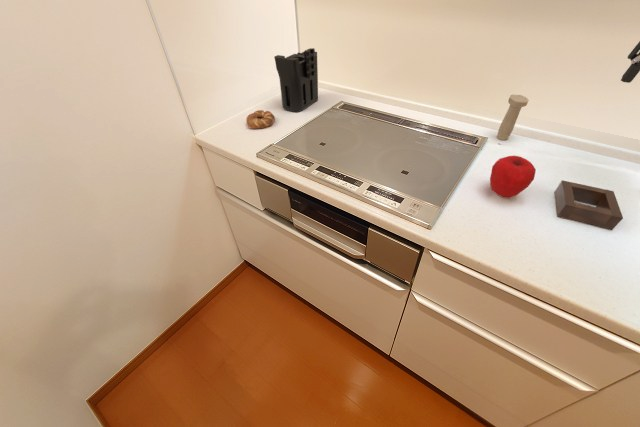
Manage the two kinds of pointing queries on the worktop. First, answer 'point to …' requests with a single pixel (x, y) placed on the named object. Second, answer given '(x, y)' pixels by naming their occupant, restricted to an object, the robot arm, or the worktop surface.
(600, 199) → the socket block
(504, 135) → the handle
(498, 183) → the apple
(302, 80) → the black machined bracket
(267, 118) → the brown bagel
